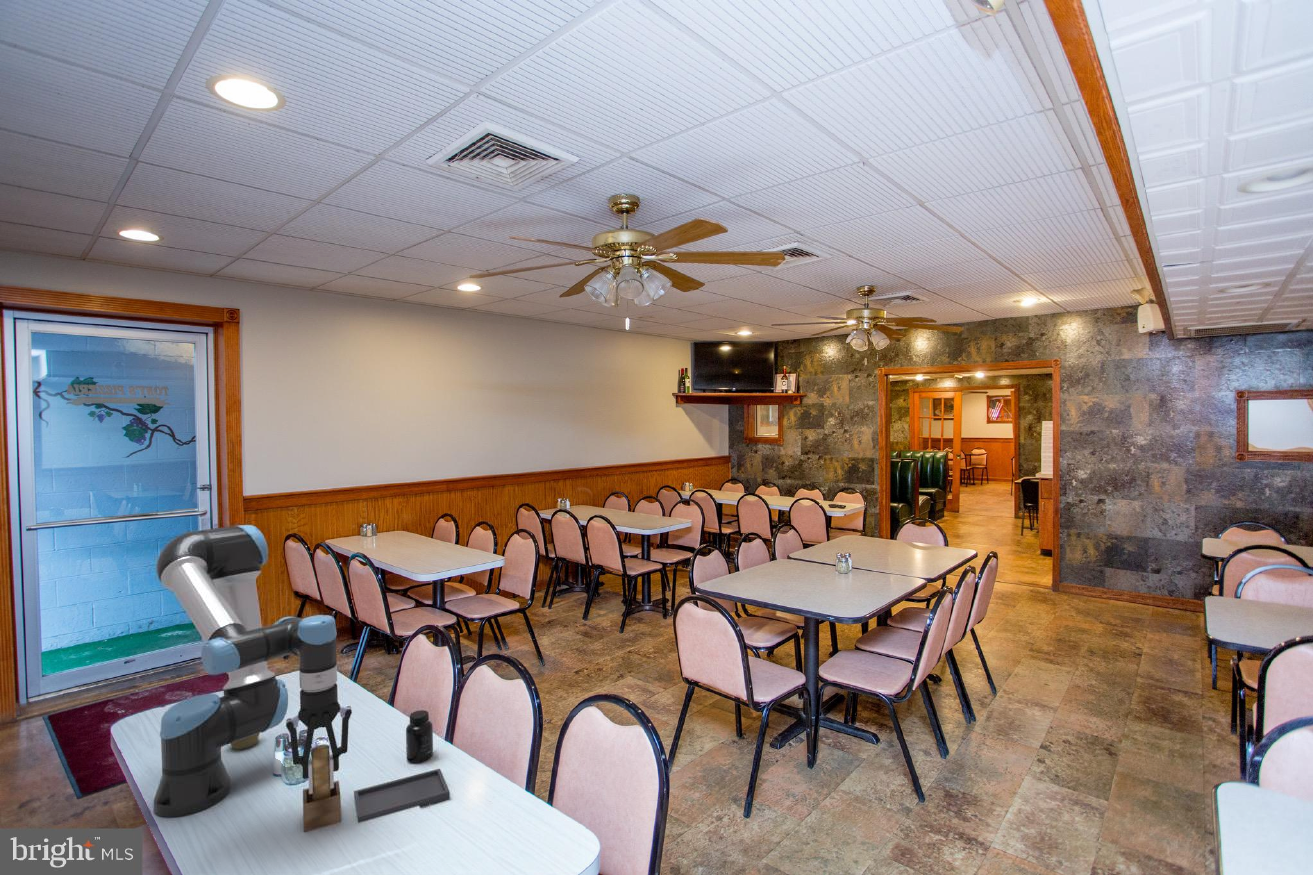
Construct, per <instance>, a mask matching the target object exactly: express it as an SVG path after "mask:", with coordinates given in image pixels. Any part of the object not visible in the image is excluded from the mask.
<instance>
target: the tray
mask: <svg viewBox="0 0 1313 875" xmlns="http://www.w3.org/2000/svg"><path fill="white" fill-rule="evenodd" d="M450 791H451V790H450V789H449V787H448V784H447V782H446V779H445V777H444V775H443V773H442V770H441V768H436V769H432V770H429V771H424V772H421V773H417V774H414V775H411V776H409V775H408V776H407V777H403V778H399V779H396V780H395V779H394V780H391V781H388V782H384V783H380V784H375V785H372V786H368V787H364V788H362V789H361V788H360V789H358V790H354V791H353V798H354V803H355V810H356V818H357V823H361V822H364V821H365V822H366V821H368V820H372V819H376V818H379V817H382V816H385V815H386V816H387V815H390V814H392V813H396V812H400V811H403V810H406V809H407V810H408V809H410V808H414V807H417V806H419V808H423V807H427V806H430V805H433V804H436V803H441V802H444V801H447V800H450V799H451V798H450V793H451V792H450ZM429 804H430V805H429Z"/></svg>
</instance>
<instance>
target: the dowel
mask: <svg viewBox="0 0 1313 875" xmlns="http://www.w3.org/2000/svg"><path fill="white" fill-rule="evenodd" d="M310 754H311V759H312V781H313V802H314V801H318V800H321V799H325V798H329V797H331V795H330V763H329V758H330V755H331V754H330V744H327V743H326V744H317V745H316V746H314V747H311V751H310Z"/></svg>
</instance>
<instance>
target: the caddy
mask: <svg viewBox="0 0 1313 875" xmlns="http://www.w3.org/2000/svg"><path fill="white" fill-rule="evenodd" d="M340 788H341V787H340V781H339V780H334V788H332V789H330V795H331V797H329V798H325V799H321V800H318V801H314V802H313V793H312V794H309V787H308V788H303V789H302V818H303V833H306V832H310V831H313V830H316V829H317V830H318V829H321V828H324V827H327V826H330V825H334V824H337V823H341V822H342V803H341V801H342V800H341V799H342V798H341V796H342V795H341V789H340Z"/></svg>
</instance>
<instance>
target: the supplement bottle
mask: <svg viewBox="0 0 1313 875" xmlns="http://www.w3.org/2000/svg"><path fill="white" fill-rule="evenodd" d="M433 732H434V726H433V723H432V722H431V721H430V716H429V711H428V710H424V709H423V710H422V709H421V710H415V711H413V712H411V713H410V714H409V723H408V725H407V726H406V728H405V749H406V752H405V753H406V761H407V762H408V763H411V764H421V763H422V764H423V763H425V762H428V761H429V760H431V759H432V757H433V755H434V733H433Z"/></svg>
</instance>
